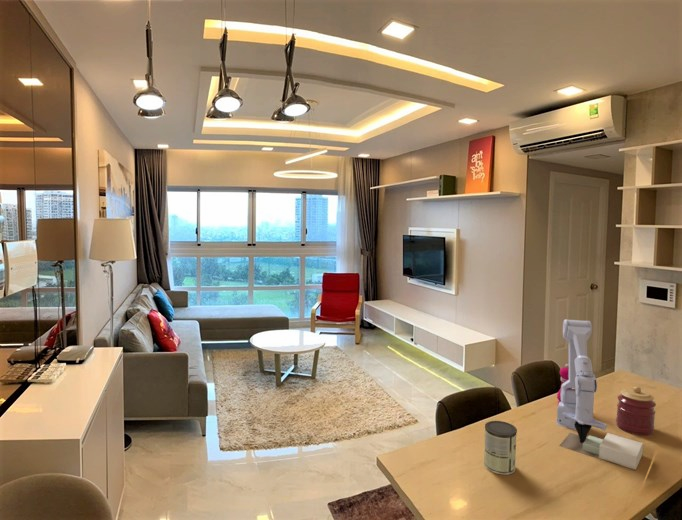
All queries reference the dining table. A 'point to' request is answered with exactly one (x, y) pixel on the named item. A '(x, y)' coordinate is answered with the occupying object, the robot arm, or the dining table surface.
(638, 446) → the white rounded block
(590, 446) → the sage tile
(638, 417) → the canister
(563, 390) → the robot arm
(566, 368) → the pepper mill
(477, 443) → the dining table surface
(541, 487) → the dining table surface
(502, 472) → the coffee can
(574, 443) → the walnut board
